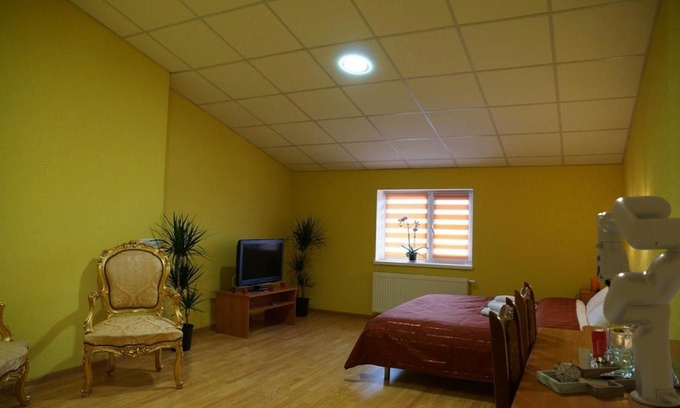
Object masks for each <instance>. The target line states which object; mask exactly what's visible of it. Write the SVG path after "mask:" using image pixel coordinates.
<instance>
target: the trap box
mask: <svg viewBox="0 0 680 408" xmlns="http://www.w3.org/2000/svg"><path fill="white" fill-rule="evenodd" d="M572 364H573V363H572ZM558 365H559V364H558ZM558 365H553V369H552V370H551V369H550V370H536V371H535V373H536V374H535V376H536V380H537V381H538V380H539V381H540V382H539V381H538V382H539V383H541V382H542V383H541V384H542V385H544V384H545V386H546V387H548V388H549V389H551V390H552V391H554V392H556V393H558V394H560V395H561V394H574V393H578V394H579V393H588V394H589V395H591V396H593V397H595V398H599V399H600V398H601V399H602V398H604V399H605V398H620V397H622V398H623V397H625V392H624V391H627V390H629V391H630V390H631V391H633V390H636V383H635V378H624V379H623V378H621V379H608V380H607V386H597V385H595V384H594V383H591V382H589V381H586V380H584V381H579V382H566V383H562V382H561V381H560V380H559V379H558V378H557V377H556V376H555V377H554V376H553V375H555V374H556V371H557V368H558ZM573 365H574V366H575V367H577V368H578V369H579V370H580V371H581V372H584V373H581V376H580V378H584V379H594V378H595V377H598V378H600V377H599V376H600V375H601V374H604V373H609V372H612V371H616V370H620V371H621V369H620V368H621V367H619V366H608V367H607V366H605V367H591V368H589V367H588V368H585V367H583V366H581V365H578V364H575V363H574V364H573ZM595 379H596V378H595ZM559 381H560V382H559Z"/></svg>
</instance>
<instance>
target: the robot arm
mask: <svg viewBox="0 0 680 408" xmlns="http://www.w3.org/2000/svg"><path fill="white" fill-rule="evenodd" d="M671 212H672V206H671V204H670V202H669V201H668V200H667V199H666V198H664V197H661V196H659V195H637V196H636V195H634V196H622V197H621V196H620V197H619V198H617V199H616V200H615V201H614V202H613V204H612V207H611V210H607V211H603V212H600V213H598V214H597V215H596V217H595V218H596V230H597V244H595V248H596V249H597V250H598V251H596V258H595V273H596V277H597V282H598V283H603V284H605V286H606V287H607V288H608V290H607V293H606V295H605V297H604V300H603V304H602V311H603V315H604V318H605V319H606V321H607V322H608V323H609V324H612V325H615V326H637V328H636V329H635V331H634V332H633V335H632V338H631V343H632V344H631V347H632V358H633V368H634V369H633V370H634V379H635V383H636V389H634V390H631V392H630V398H631V399H632V400H634V401H635V402H638V403H640V404H644V405H647V406H652V407H660V408H661V407H662V408H673V407H679V406H680V395H677V390H676V388H674V379H673V367H672V356H671V345H670V344H671V343H670V322H671V305H670V302H672V300H674V298H675V297H676V295H677V294H678V291H679V290H680V217H670V215H671V214H672V213H671ZM622 236H623V237H622ZM623 238H624V240H625V241H626V242H627V244H628V246H630V247H631V248H632V249H635V250H639V251H654V250H657V251H659V250H665V251H664V252H662V253H660V254H658V255H657V256H656V257H655V258H654V259H653V260H652V261H651V262H650V265H649V266H648V268H647V270H644V271H631V268H630V263H629V257H628V255H627V252H626V250H624V248H623V247H624V246H623Z"/></svg>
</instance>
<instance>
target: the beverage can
mask: <svg viewBox="0 0 680 408" xmlns="http://www.w3.org/2000/svg"><path fill="white" fill-rule="evenodd" d="M590 334H591V346H592V347H591V349H592V357H593V359H594V358H596V357H603V356H604V355H605V353H606V349H607V350H608V342H607V341H608V340H607V332H606V330H605V329H602V328H601V329H600V328H599V329H598V328H593V329H591V332H590Z"/></svg>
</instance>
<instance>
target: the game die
mask: <svg viewBox="0 0 680 408" xmlns="http://www.w3.org/2000/svg"><path fill="white" fill-rule="evenodd" d="M572 362H573V361H572V359H571V360H570V362H560V361H557V364H558V368H557V371H556V374H555V375H553V376H554V377H555V376H556V377H557V378H558V379H559V380H558V381H560V383H566V382H580V379H581V377H580V376H581V373H584V372H581V371H580V370H579V369H578V368H577V367H575V366H574V365H573V363H572Z"/></svg>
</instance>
